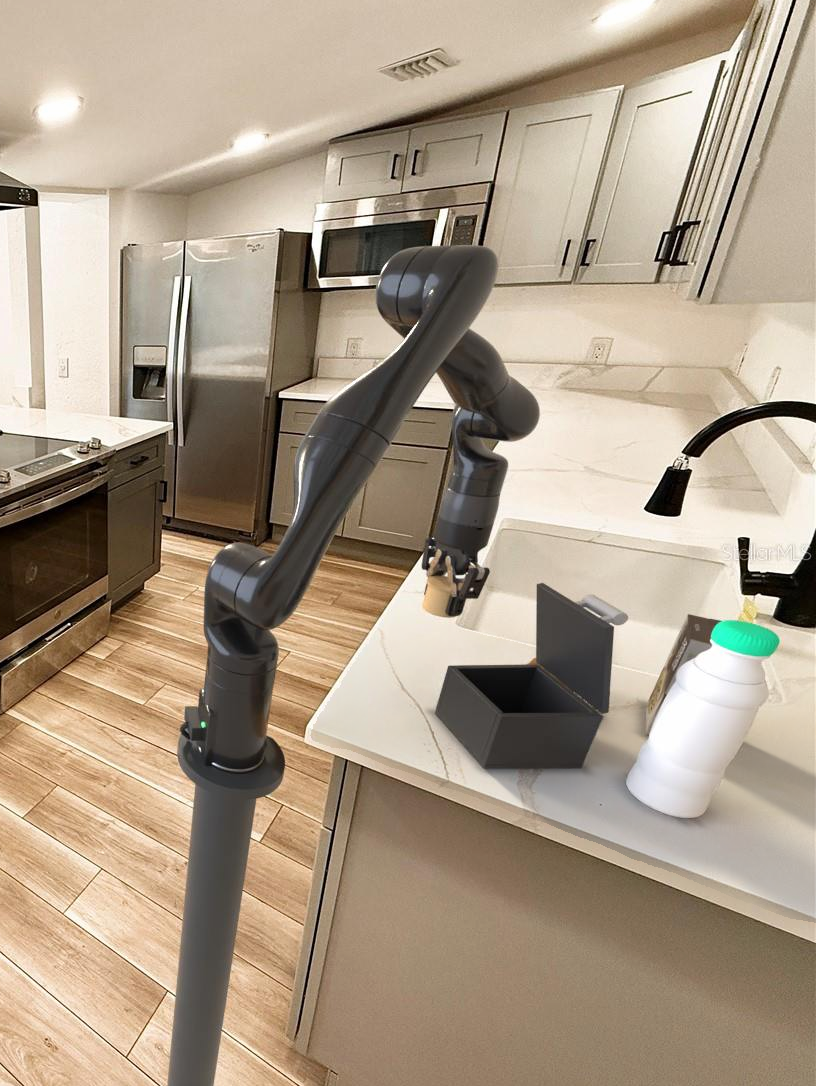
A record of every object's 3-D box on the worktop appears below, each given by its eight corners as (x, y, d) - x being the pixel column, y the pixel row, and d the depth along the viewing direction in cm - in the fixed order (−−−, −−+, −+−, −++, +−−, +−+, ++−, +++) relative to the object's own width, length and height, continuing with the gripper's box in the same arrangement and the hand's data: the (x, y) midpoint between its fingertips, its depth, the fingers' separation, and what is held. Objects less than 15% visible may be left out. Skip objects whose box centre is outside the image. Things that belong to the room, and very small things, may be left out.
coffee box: (709, 755, 83) (762, 656, 76) (643, 734, 87) (689, 638, 80) (706, 721, 89) (756, 626, 82) (644, 703, 93) (687, 611, 86)
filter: (432, 618, 105) (439, 591, 103) (413, 602, 110) (419, 575, 108) (468, 618, 104) (477, 591, 102) (447, 601, 110) (455, 575, 108)
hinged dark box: (483, 768, 83) (501, 717, 79) (434, 713, 93) (448, 665, 90) (581, 768, 82) (604, 716, 78) (520, 712, 92) (537, 664, 89)
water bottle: (700, 795, 77) (793, 624, 67) (705, 831, 72) (806, 653, 62) (623, 769, 81) (700, 606, 71) (624, 801, 77) (705, 631, 66)
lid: (607, 628, 73) (653, 617, 72) (536, 584, 84) (576, 574, 83) (601, 714, 78) (645, 705, 77) (535, 662, 89) (573, 653, 88)
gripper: (418, 502, 107) (397, 587, 114) (470, 533, 94) (443, 627, 101) (462, 501, 106) (439, 586, 113) (521, 532, 93) (491, 626, 100)
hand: (441, 605), depth 107 cm, fingers closed on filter, 6 cm apart
